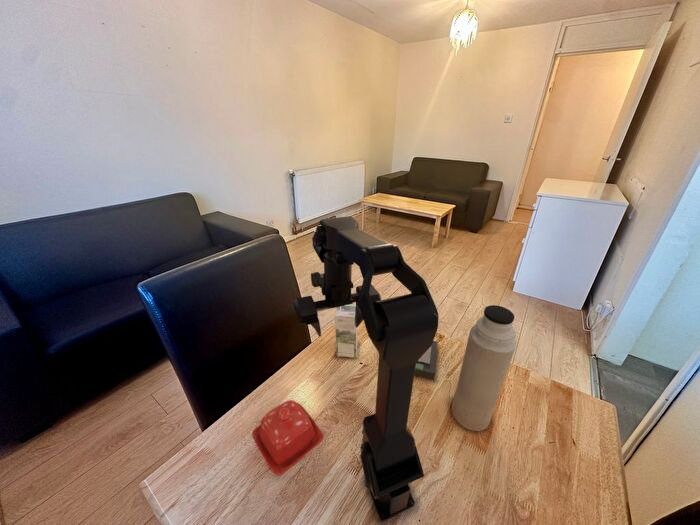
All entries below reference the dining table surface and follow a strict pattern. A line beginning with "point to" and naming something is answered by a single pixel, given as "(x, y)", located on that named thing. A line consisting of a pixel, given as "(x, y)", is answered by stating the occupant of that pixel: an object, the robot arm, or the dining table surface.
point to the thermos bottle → (484, 368)
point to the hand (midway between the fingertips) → (338, 330)
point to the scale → (427, 363)
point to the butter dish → (286, 436)
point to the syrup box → (346, 331)
